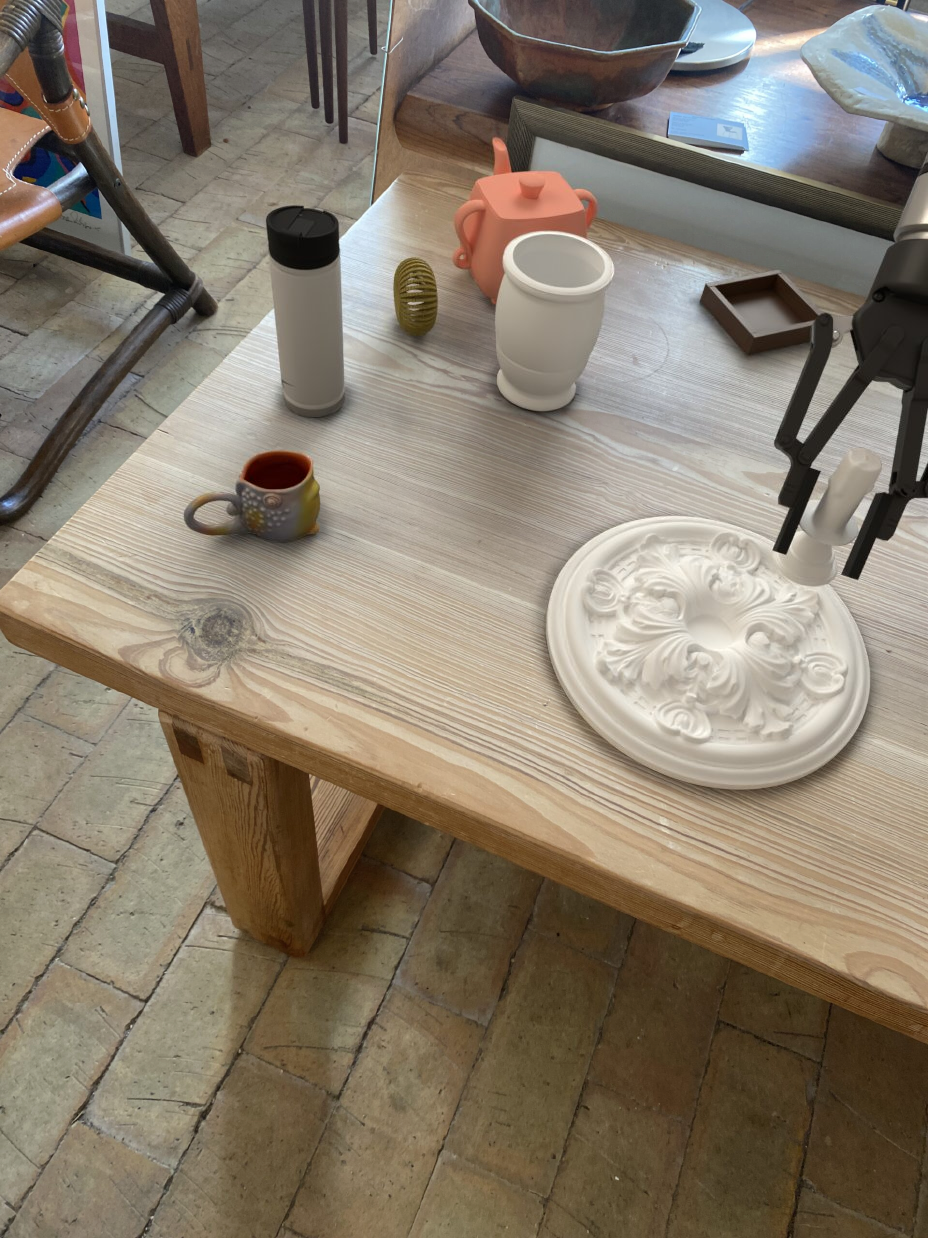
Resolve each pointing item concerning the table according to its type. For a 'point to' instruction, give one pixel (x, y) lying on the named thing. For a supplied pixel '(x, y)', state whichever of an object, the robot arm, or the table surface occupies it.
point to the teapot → (514, 216)
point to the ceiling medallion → (706, 654)
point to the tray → (761, 311)
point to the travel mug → (307, 307)
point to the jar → (548, 316)
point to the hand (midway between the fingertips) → (814, 564)
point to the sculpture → (415, 296)
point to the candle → (829, 521)
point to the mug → (267, 499)
